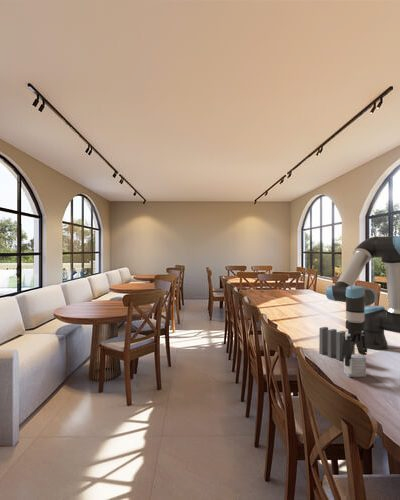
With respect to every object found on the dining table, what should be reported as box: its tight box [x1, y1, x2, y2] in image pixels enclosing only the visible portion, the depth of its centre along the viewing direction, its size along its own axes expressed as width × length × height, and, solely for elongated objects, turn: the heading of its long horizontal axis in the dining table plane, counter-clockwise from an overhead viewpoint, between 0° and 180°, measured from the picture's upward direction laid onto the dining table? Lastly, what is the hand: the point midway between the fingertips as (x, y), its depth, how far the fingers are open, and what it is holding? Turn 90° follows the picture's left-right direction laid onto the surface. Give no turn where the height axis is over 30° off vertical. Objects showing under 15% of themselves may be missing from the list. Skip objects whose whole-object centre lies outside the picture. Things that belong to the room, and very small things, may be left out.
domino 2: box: [327, 328, 338, 358], centre depth 159 cm, size 5×2×14 cm, turn 122°
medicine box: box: [343, 353, 367, 378], centre depth 135 cm, size 8×4×9 cm, turn 92°
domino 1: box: [318, 326, 329, 355], centre depth 163 cm, size 5×2×14 cm, turn 122°
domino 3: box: [335, 330, 346, 361], centre depth 155 cm, size 5×2×14 cm, turn 122°
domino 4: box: [345, 333, 356, 355], centre depth 150 cm, size 5×2×14 cm, turn 122°
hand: (354, 370), depth 135 cm, fingers closed on medicine box, 9 cm apart
